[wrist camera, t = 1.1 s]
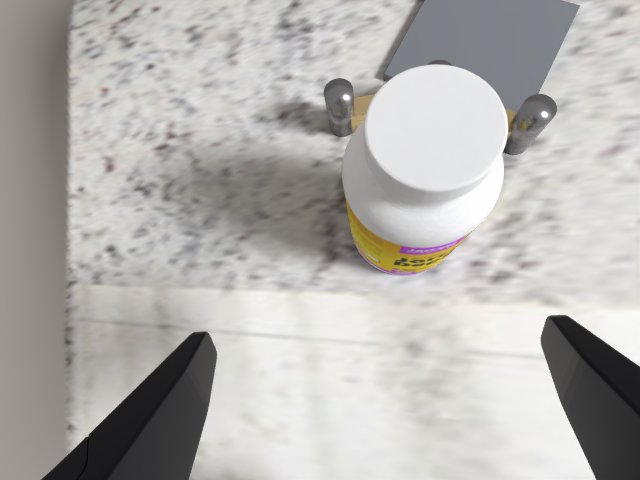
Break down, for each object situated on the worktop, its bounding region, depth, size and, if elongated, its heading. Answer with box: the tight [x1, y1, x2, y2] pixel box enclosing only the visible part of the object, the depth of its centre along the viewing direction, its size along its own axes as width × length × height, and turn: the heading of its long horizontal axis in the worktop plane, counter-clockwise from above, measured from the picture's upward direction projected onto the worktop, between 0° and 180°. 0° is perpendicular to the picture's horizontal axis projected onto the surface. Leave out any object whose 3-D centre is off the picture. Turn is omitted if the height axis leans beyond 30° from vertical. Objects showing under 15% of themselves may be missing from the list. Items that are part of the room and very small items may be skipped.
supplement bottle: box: [342, 64, 508, 276], centre depth 19 cm, size 7×7×13 cm
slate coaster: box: [384, 0, 580, 112], centre depth 27 cm, size 10×10×1 cm
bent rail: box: [324, 60, 557, 155], centre depth 24 cm, size 13×5×4 cm, turn 62°
